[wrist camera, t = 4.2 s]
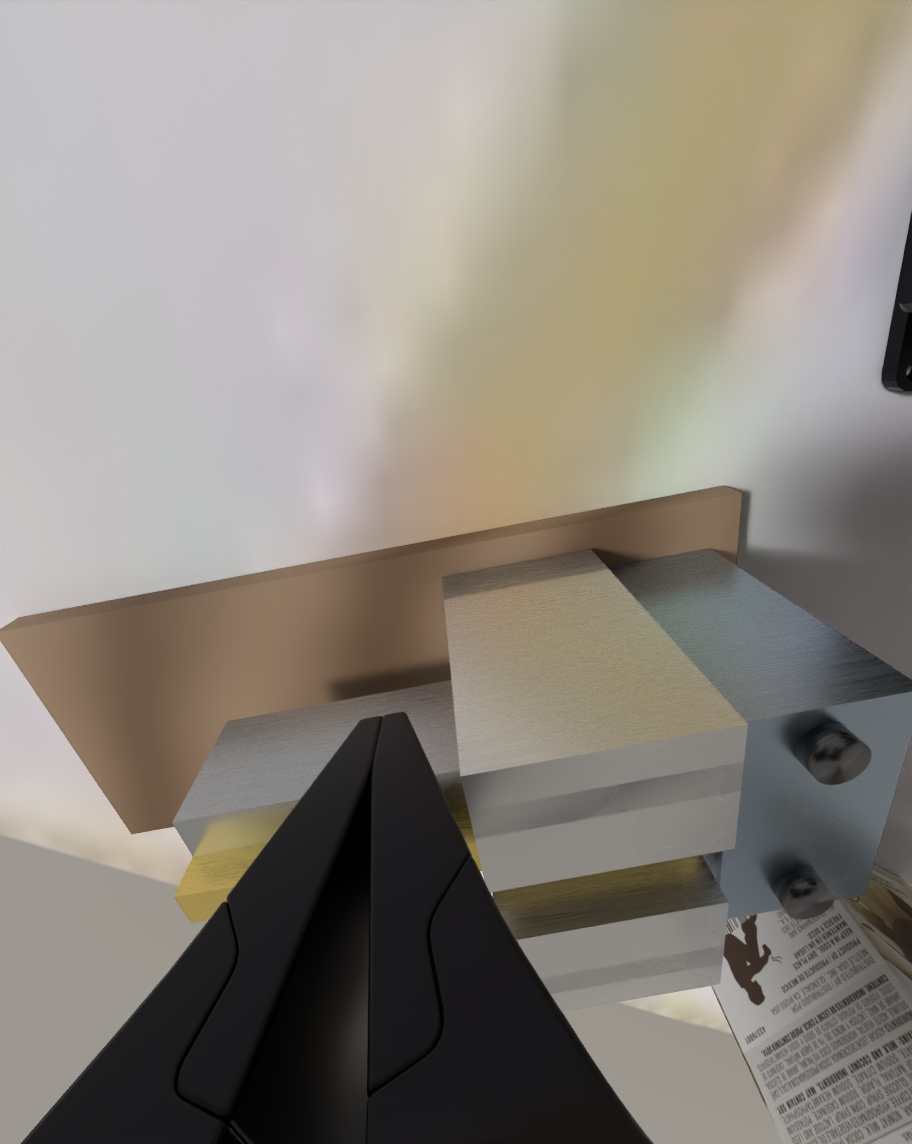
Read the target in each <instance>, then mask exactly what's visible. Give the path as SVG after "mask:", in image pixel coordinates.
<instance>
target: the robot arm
mask: <svg viewBox="0 0 912 1144" xmlns="http://www.w3.org/2000/svg"><path fill="white" fill-rule="evenodd" d="M911 363H912V213H911V218H910V224H909V229H908V235H907V240H906V245H905V251H904V256H903V262H902V267H901V272H900V278H899V283H898V289H897V294H896V299H895V305H894V310H893V316H892V321H891V326H890V332H889V337H888V342H887V348H886V353H885V359H884V364H883V369H882V382H883V384H884V386H885V387H886V388H887V389H889V390H895V391H912V368H911V371H910V373H909V374H908V375H907V376H906V371H907V368H908V366H909V365H910V364H911ZM21 1144H653V1142H652V1141H651V1140H650V1139H649V1137H648V1136H647V1135H646V1134H645V1132H644V1131H643V1130H642V1129H641V1127H640V1126H639V1125H638V1123H637V1122H636V1121H635V1119H634V1118H633V1117H632V1115H631V1114H630V1113H629V1111H628V1110H627V1109H626V1107H625V1106H624V1104H623V1103H622V1102H621V1100H620V1099H619V1098H618V1096H617V1095H616V1093H615V1092H614V1090H613V1089H612V1087H611V1086H610V1085H609V1083H608V1082H607V1081H606V1079H605V1077H604V1076H603V1074H602V1073H601V1071H600V1070H599V1068H598V1067H597V1065H596V1064H595V1062H594V1061H593V1060H592V1058H591V1056H590V1055H589V1053H588V1052H587V1050H586V1048H585V1047H584V1045H583V1044H582V1042H581V1041H580V1039H579V1038H578V1036H577V1034H576V1033H575V1031H574V1030H573V1028H572V1027H571V1025H570V1024H569V1022H568V1020H567V1019H566V1017H565V1016H564V1014H563V1013H562V1011H561V1010H560V1008H559V1006H558V1005H557V1003H556V1002H555V1000H554V999H553V997H552V996H551V994H550V992H549V991H548V989H547V988H546V986H545V985H544V983H543V982H542V980H541V978H540V977H539V975H538V974H537V972H536V971H535V969H534V968H533V966H532V964H531V963H530V961H529V960H528V958H527V957H526V955H525V953H524V952H523V950H522V948H521V947H520V945H519V943H518V942H517V940H516V938H515V937H514V935H513V933H512V932H511V930H510V928H509V927H508V925H507V923H506V922H505V920H504V918H503V917H502V915H501V913H500V911H499V909H498V907H497V905H496V903H495V901H494V899H493V897H492V895H491V893H490V891H489V889H488V887H487V885H486V883H485V881H484V879H483V877H482V875H481V873H480V871H479V868H478V866H477V864H476V862H475V860H474V859H473V858H472V854H471V852H470V850H469V847H468V845H467V843H466V841H465V839H464V837H463V834H462V832H461V830H460V828H459V826H458V824H457V821H456V819H455V817H454V815H453V813H452V811H451V808H450V806H449V804H448V802H447V800H446V798H445V795H444V793H443V791H442V789H441V787H440V785H439V782H438V780H437V778H436V776H435V774H434V772H433V770H432V767H431V765H430V763H429V761H428V759H427V757H426V754H425V752H424V750H423V748H422V746H421V744H420V741H419V739H418V737H417V735H416V733H415V731H414V728H413V726H412V724H411V722H410V720H409V718H408V715H407V714H406V713H405V712H397V713H392V714H387V715H385V716H384V717H383V716H376V717H370V718H365V719H362V720H360V721H359V722H358V724H357V725H356V726H355V728H354V729H353V730H352V731H351V733H350V734H349V735H348V737H347V738H346V739H345V741H344V742H343V743H342V745H341V746H340V747H339V749H338V750H337V751H336V753H335V754H334V755H333V757H332V758H331V759H330V761H329V762H328V763H327V765H326V766H325V767H324V768H323V770H322V771H321V772H320V774H319V775H318V776H317V778H316V779H315V780H314V782H313V783H312V784H311V786H310V787H309V788H308V790H307V791H306V792H305V794H304V795H303V796H302V798H301V799H300V800H299V802H298V803H297V804H296V806H295V807H294V808H293V809H292V811H291V812H290V813H289V815H288V816H287V817H286V819H285V820H284V821H283V823H282V824H281V825H280V827H279V828H278V829H277V831H276V832H275V833H274V835H273V836H272V837H271V839H270V840H269V841H268V843H267V844H266V845H265V846H264V848H263V849H262V850H261V852H260V853H259V854H258V856H257V857H256V858H255V860H254V861H253V862H252V864H251V865H250V866H249V868H248V869H247V870H246V872H245V873H244V874H243V876H242V877H241V878H240V880H239V881H238V882H237V884H236V885H235V886H234V887H233V889H232V890H231V891H230V893H229V894H228V895H227V902H222V903H221V904H220V906H219V907H218V908H217V910H216V911H215V912H214V914H213V915H212V916H211V918H210V919H209V920H208V922H207V923H206V924H205V926H204V927H203V928H202V929H201V931H200V932H199V933H198V935H197V936H196V937H195V938H194V940H193V941H192V942H191V943H190V945H189V946H188V947H187V949H186V950H185V951H184V952H183V954H182V955H181V956H180V957H179V959H178V960H177V961H176V963H175V964H174V965H173V966H172V968H171V969H170V970H169V971H168V973H167V974H166V975H165V976H164V977H163V979H162V980H161V981H160V982H159V983H158V985H157V986H156V987H155V988H154V989H153V990H152V992H151V993H150V994H149V995H148V996H147V998H146V999H145V1000H144V1001H143V1002H142V1004H141V1005H140V1006H139V1007H138V1009H137V1010H136V1011H135V1012H134V1013H133V1014H132V1015H131V1017H130V1018H129V1019H128V1020H127V1021H126V1023H125V1024H124V1025H123V1026H122V1027H121V1028H120V1030H119V1031H118V1032H117V1033H116V1034H115V1036H113V1038H112V1039H111V1040H110V1041H109V1042H108V1043H107V1045H106V1046H105V1047H104V1048H103V1049H102V1050H101V1052H100V1053H99V1054H98V1055H97V1056H96V1057H95V1058H94V1060H93V1061H92V1062H91V1063H90V1064H89V1065H88V1066H87V1068H86V1069H85V1070H84V1071H83V1072H82V1073H81V1075H80V1076H79V1077H78V1078H77V1079H76V1080H75V1082H74V1083H73V1084H72V1085H71V1086H70V1087H69V1089H68V1090H67V1091H66V1092H65V1093H64V1094H63V1096H61V1098H60V1099H59V1100H58V1101H57V1102H56V1103H55V1105H54V1106H53V1107H52V1108H51V1109H50V1110H49V1112H48V1113H47V1114H46V1115H45V1116H44V1118H42V1120H41V1121H40V1122H39V1123H38V1124H37V1125H36V1127H35V1128H34V1129H33V1130H32V1131H31V1132H30V1133H29V1135H28V1136H27V1137H26V1138H25V1139H24V1140H23V1142H22V1143H21Z"/></svg>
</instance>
